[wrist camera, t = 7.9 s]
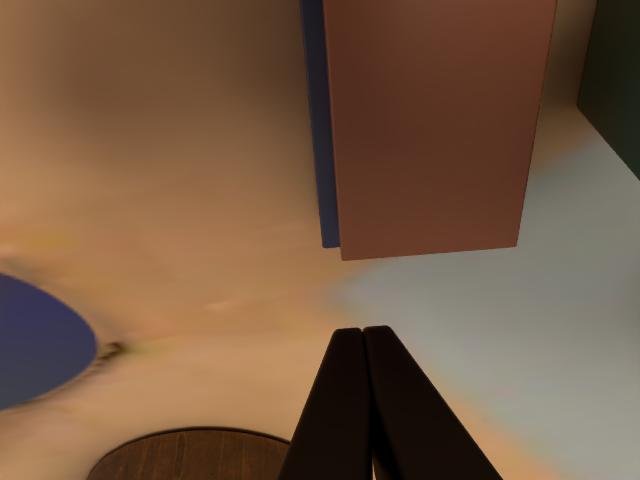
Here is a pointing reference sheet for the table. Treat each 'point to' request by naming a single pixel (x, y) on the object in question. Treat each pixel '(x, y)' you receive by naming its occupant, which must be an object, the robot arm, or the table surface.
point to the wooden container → (195, 458)
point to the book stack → (423, 120)
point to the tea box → (614, 79)
